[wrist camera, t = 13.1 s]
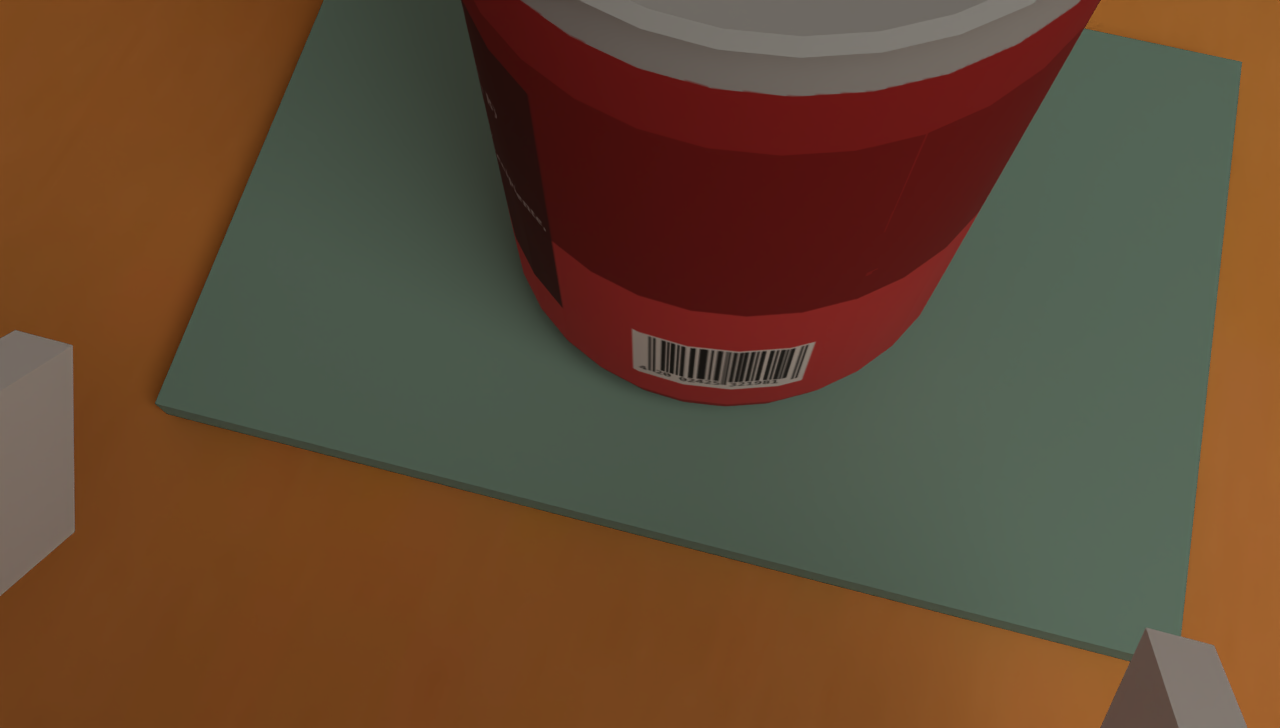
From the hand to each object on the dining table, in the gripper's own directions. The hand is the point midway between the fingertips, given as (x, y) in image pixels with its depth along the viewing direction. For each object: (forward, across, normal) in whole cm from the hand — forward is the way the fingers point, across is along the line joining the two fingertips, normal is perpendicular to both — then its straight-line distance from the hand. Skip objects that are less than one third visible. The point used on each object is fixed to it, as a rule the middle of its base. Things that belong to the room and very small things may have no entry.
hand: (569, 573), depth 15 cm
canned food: (+10, 0, +1) cm, 10 cm away
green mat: (+10, 0, +1) cm, 10 cm away
